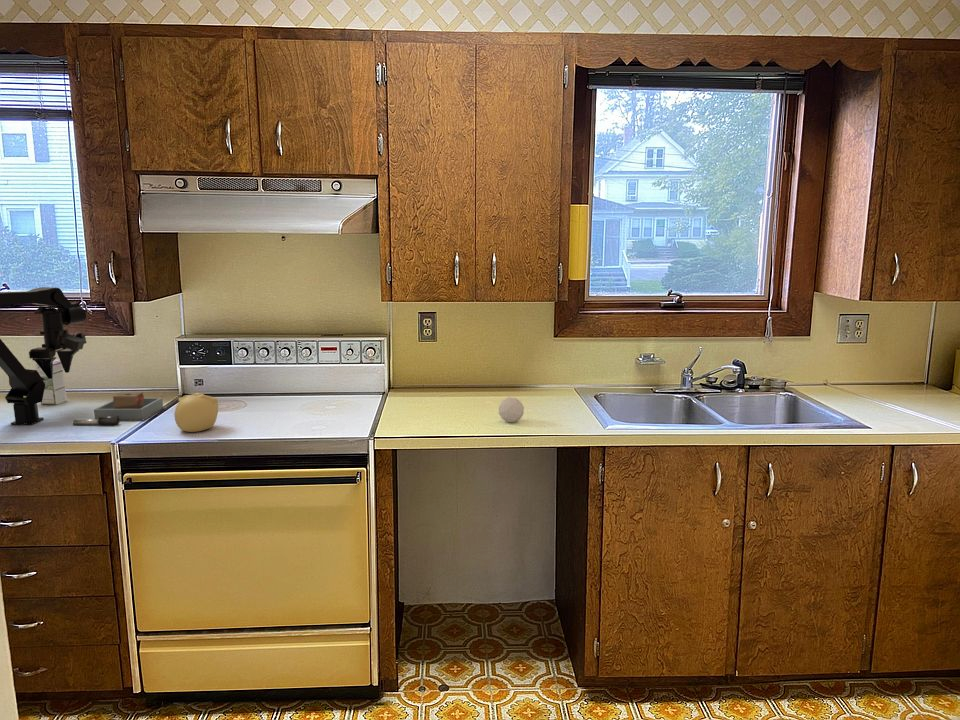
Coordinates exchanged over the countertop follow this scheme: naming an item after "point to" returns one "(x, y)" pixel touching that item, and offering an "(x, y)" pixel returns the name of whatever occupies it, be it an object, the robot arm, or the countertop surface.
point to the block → (129, 400)
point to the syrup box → (53, 385)
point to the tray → (130, 410)
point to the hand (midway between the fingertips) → (59, 375)
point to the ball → (511, 410)
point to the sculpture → (196, 412)
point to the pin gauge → (99, 421)
